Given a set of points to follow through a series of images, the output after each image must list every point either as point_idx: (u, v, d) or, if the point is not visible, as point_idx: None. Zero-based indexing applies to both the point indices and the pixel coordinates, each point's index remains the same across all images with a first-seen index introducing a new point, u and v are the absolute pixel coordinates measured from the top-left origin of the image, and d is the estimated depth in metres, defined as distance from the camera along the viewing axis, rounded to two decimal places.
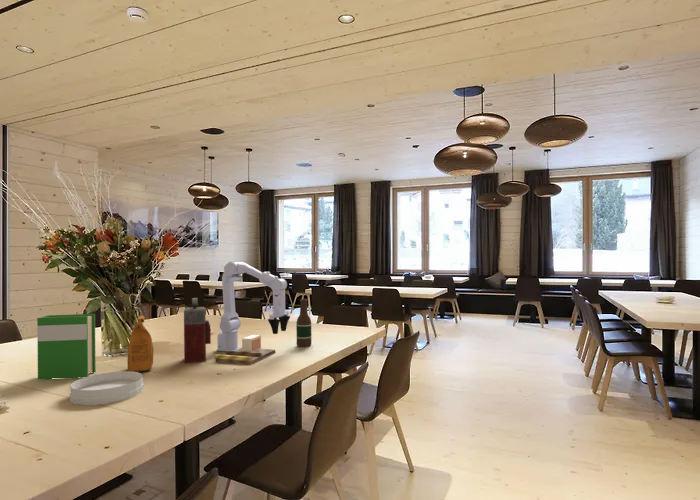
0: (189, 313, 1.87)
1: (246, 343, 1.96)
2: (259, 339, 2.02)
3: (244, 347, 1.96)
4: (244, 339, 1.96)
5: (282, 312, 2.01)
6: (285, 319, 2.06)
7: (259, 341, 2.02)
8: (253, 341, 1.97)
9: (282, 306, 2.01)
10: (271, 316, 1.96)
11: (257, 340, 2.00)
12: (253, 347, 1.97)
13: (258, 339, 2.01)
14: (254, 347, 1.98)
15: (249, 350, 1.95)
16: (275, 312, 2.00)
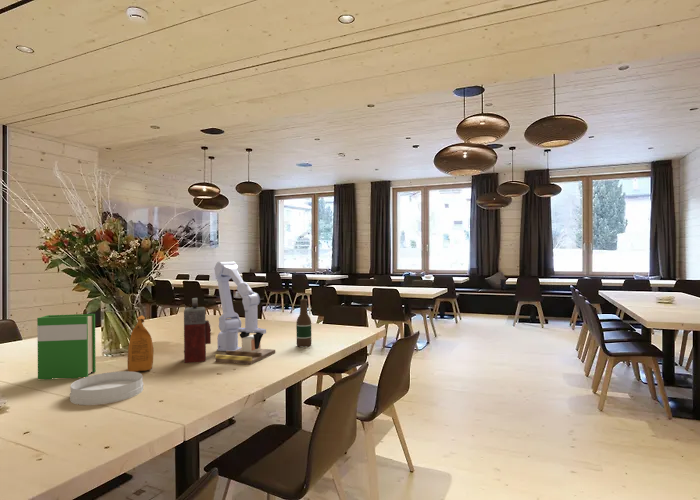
0: (189, 313, 1.87)
1: (246, 343, 1.96)
2: None
3: (244, 347, 1.96)
4: (244, 339, 1.96)
5: (246, 328, 1.98)
6: None
7: None
8: (253, 341, 1.97)
9: (246, 322, 1.98)
10: None
11: None
12: (253, 347, 1.97)
13: None
14: (254, 347, 1.98)
15: (249, 350, 1.95)
16: None
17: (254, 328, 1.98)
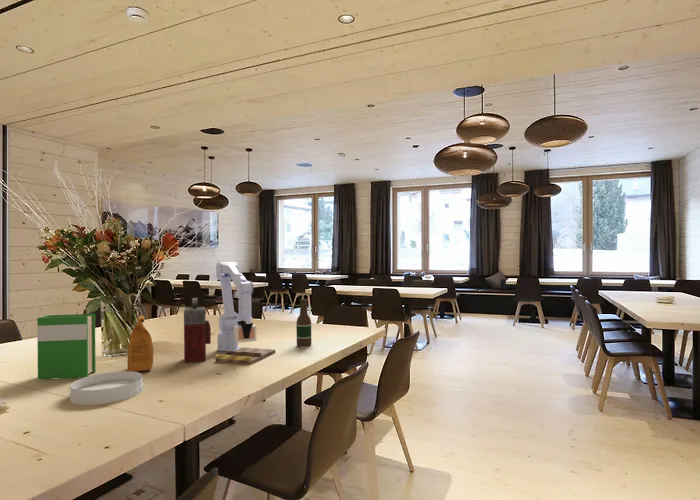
0: (189, 313, 1.87)
1: (235, 331, 1.93)
2: (252, 329, 1.94)
3: (234, 335, 1.94)
4: (234, 327, 1.94)
5: None
6: None
7: (252, 331, 1.94)
8: (240, 330, 1.92)
9: None
10: None
11: None
12: (240, 336, 1.91)
13: None
14: (242, 336, 1.92)
15: (236, 339, 1.92)
16: None
17: (243, 317, 1.92)
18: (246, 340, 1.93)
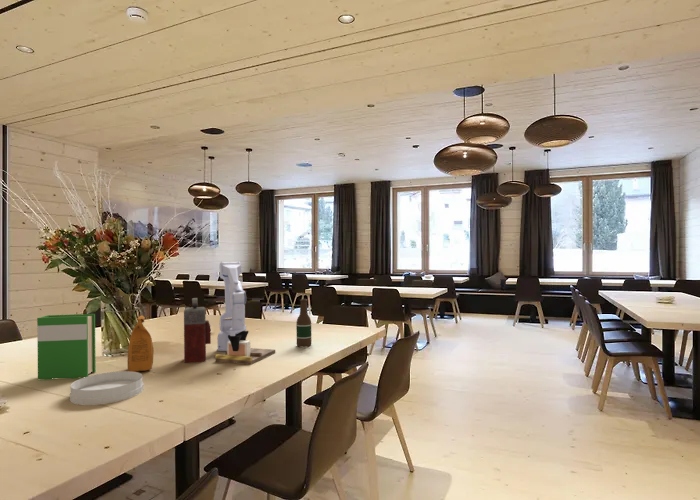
0: (189, 313, 1.87)
1: None
2: (242, 346, 1.87)
3: None
4: None
5: None
6: None
7: (242, 348, 1.87)
8: (230, 346, 1.88)
9: None
10: None
11: None
12: (230, 352, 1.88)
13: (240, 346, 1.87)
14: (232, 352, 1.87)
15: None
16: None
17: (233, 328, 1.87)
18: None
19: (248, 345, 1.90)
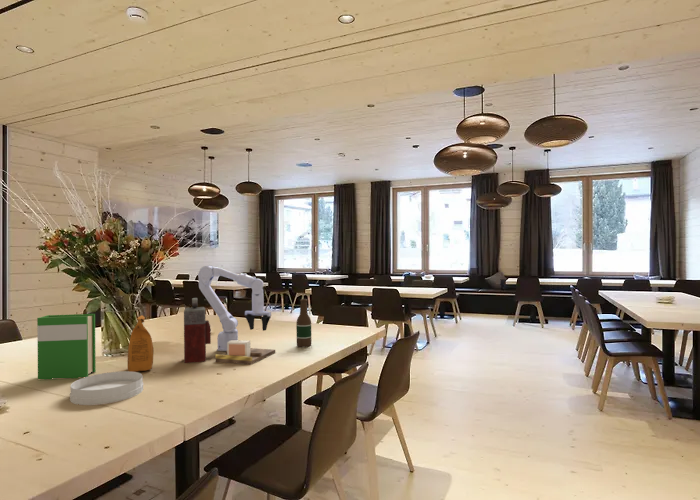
0: (189, 313, 1.87)
1: None
2: (242, 346, 1.87)
3: None
4: None
5: (252, 311, 2.11)
6: None
7: (242, 348, 1.87)
8: (230, 346, 1.88)
9: (252, 305, 2.11)
10: None
11: (238, 346, 1.87)
12: (230, 352, 1.88)
13: (240, 346, 1.87)
14: (232, 352, 1.87)
15: None
16: None
17: (260, 311, 2.11)
18: None
19: (248, 345, 1.90)
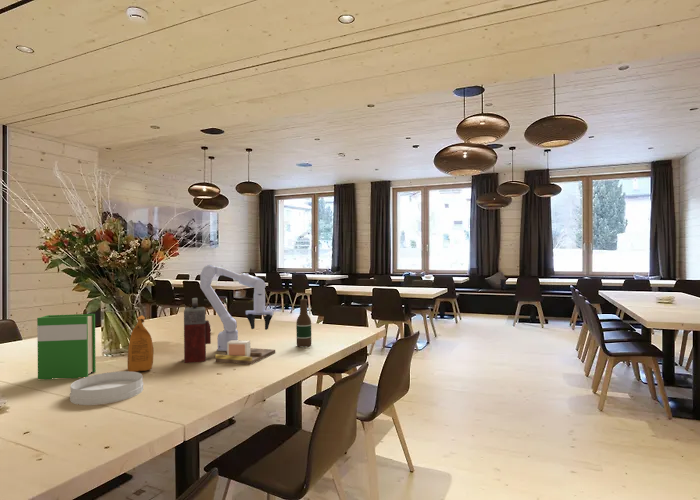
0: (189, 313, 1.87)
1: None
2: (242, 346, 1.87)
3: None
4: None
5: (254, 310, 2.13)
6: None
7: (242, 348, 1.87)
8: (230, 346, 1.88)
9: (254, 304, 2.13)
10: None
11: (238, 346, 1.87)
12: (230, 352, 1.88)
13: (240, 346, 1.87)
14: (232, 352, 1.87)
15: None
16: None
17: (262, 310, 2.13)
18: None
19: (248, 345, 1.90)
